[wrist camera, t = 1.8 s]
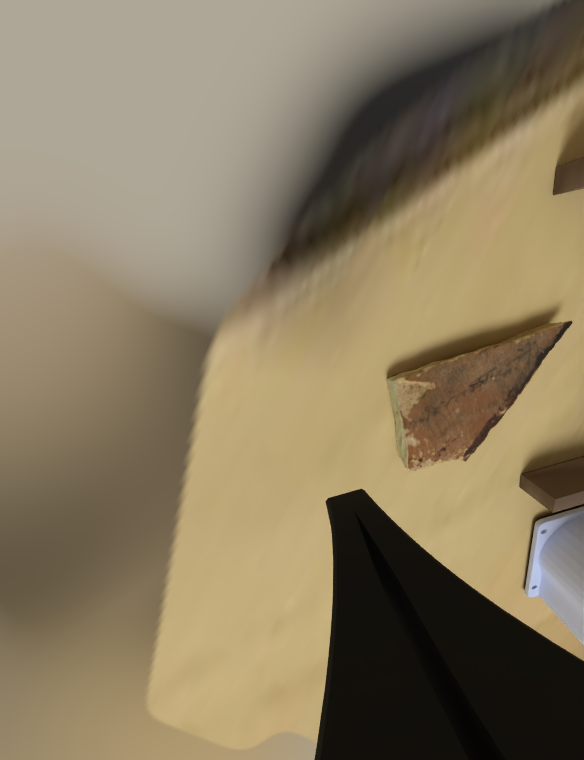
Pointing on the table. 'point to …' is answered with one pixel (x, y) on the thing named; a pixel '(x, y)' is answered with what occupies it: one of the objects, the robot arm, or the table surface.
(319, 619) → the table surface
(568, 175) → the frame
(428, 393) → the shard
